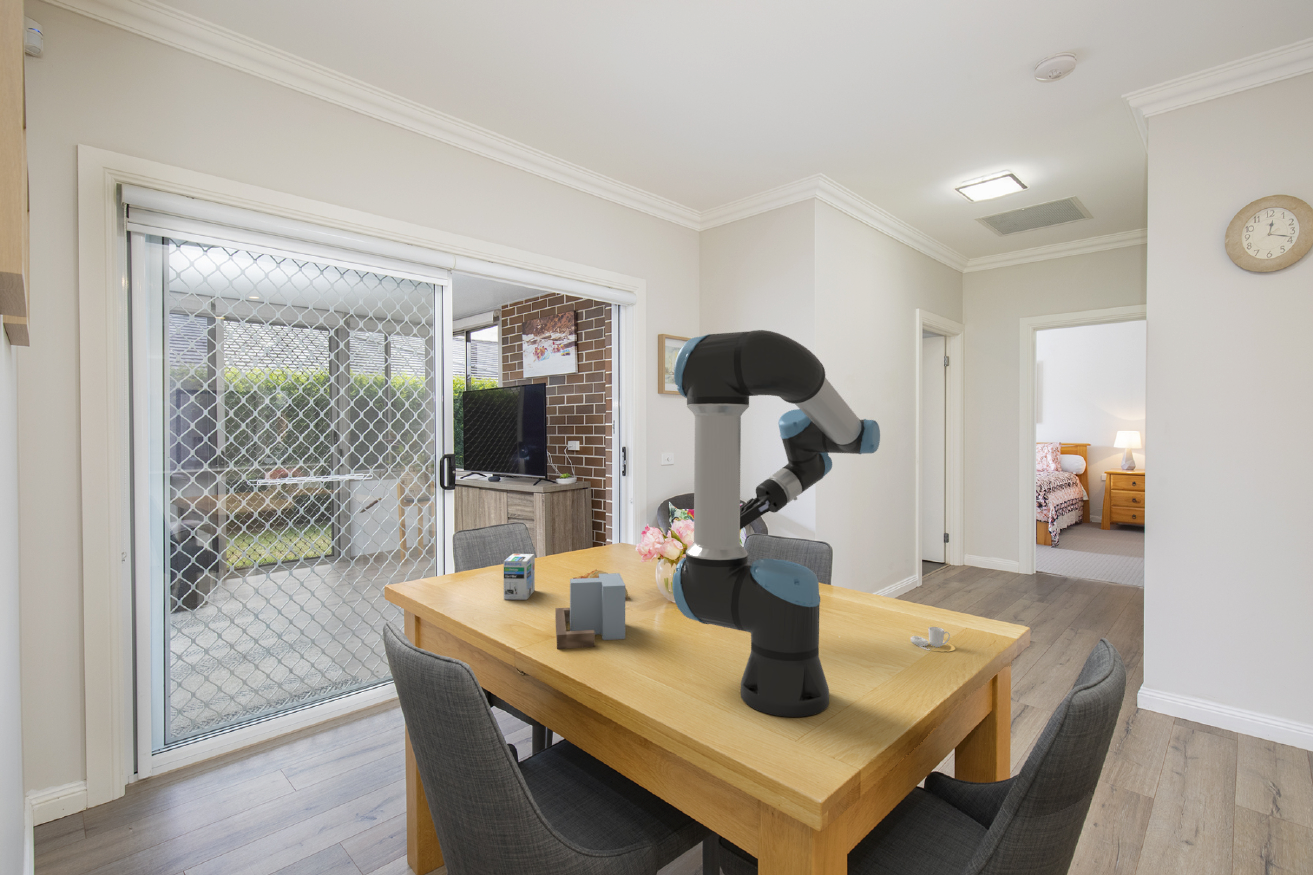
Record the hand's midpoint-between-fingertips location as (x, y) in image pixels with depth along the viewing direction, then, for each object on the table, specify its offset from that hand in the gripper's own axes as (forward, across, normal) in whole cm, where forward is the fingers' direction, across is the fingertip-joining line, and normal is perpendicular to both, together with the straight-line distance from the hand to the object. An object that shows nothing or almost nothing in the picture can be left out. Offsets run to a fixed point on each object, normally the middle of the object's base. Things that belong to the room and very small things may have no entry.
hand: (701, 547), depth 139 cm
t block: (+28, +15, -4) cm, 32 cm away
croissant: (+19, +47, -2) cm, 50 cm away
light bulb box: (+37, +51, +10) cm, 64 cm away
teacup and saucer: (-28, -11, -45) cm, 54 cm away
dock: (+32, +15, -1) cm, 36 cm away
